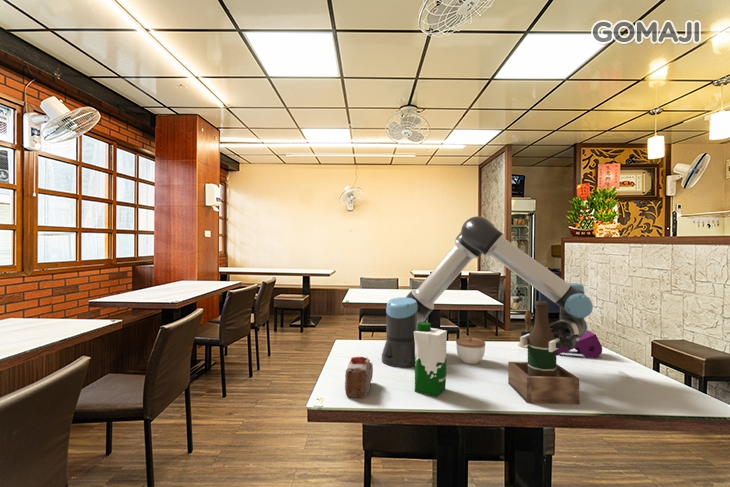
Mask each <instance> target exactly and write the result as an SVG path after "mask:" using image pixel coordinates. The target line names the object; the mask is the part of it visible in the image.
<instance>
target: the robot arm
mask: <svg viewBox="0 0 730 487" xmlns="http://www.w3.org/2000/svg"><path fill="white" fill-rule="evenodd" d="M482 255H484V256H485V257H492V258H493V259H494V260H496V261H498V263H500V264H501V265H503V266H504V267H505V268H507V269H508V270H509V271H510V272H512V273H514V274H515V275H517V276H518V277H519V278H520V279H522V280H523V281H525V282H526V283H527V284H529V285H530V286H532V287H533V288H534V289H535V290H537V291H538V292H540V293H541V294H542V295H544V296H545V297H546V298H547V299H549V300H550V301H552V302H553V303H555V305H557V306H558V307H559V320H557V321H555V322H552V323H550V324H549V327H550V330H551V331H552V333H553V334H554V337H555V339H554V340H552V341H550V342H549V352H553V351H555V350H557V349H559V348H565V347H568V349H572V348H573V347H574V346H575V345H576V344H578V343H579V338H580V337H582V336H583V335H584V334H585V333H586V331H587V330H588V324H587V322H586V319H585V318H587V317H589V316H590V315H591V314H592V313H593V309H594V306H593V303H592V300H591V298H590V297H588V296H587V295H586V294H585V287H584V285H583V283H573V282H567V281H566V280H564V279H562V278H561V277H560V276H558V275H557V274H555V272H553V271H551V270H550V269H548V268H547V267H545V266H544V265H543V264H542V263H540V262H539V261H537V260H535V259H534V258H533V257H531V256H530V255H529V254H527V253H526V252H525V251H523V250H521V249H520V248H519V247H517V246H516V245H514V244H513V243H512V242H510V241H509V240H507V239H506V238H505V234H504V233H503V232H501V231H500V230H499V229H497V228H496V227H495V225H494V224H493V223H492V222H491V221H490V220H489V219H487V218H486V217H483V216H478V215H477V216H473V217H470V218H468V219H466V221H465V222H463V225H462V226H461V230H460V232H459V234H458V235H457V236H456V238H455V239H454V246H453V247H452V248H451V249H450V250H449V252H447V254H446V255H445V256H444V257H443V258H442V259H441V261H440V262H439V263H438V264H437V266H436V267H435V268H434V269H433V270H432V272H430V274H429V275H428V276H427V277H426V279H424V281H423V282H422V283H421V284H420V285H419V287H418V288H416V289H415V288H413V289H411V290H410V292H409V293H408V294H407V295H406V296H405V297H403V296H402V297H396V298H395V297H394V298H391V299H389V300H388V301H387V303H386V308H385V309H386V310H385V312H386V332H385V333H386V338H385V343H384V346H383V349H382V352H381V362H382V363H383V364H385V365H387V366H392V367H397V368H411V367H415V339H414V331H416V330H417V329H418V328H417V326H418V323H419V322H426V320H427V318H428V316H429V315H430V314H431V312H433V310H434V309H435V302H436V301H437V300H438V299H439V298H440V297H441V295H442V294H444V292H445V291H446V289H447V288H448V287H449V286H450V285H451V284H452V283H453V282H454V280H456V278H457V277H458V276H459V275H460V274H461V272H462V271H463V270H464V269H465V268H466V267H467V266H468V265H469V263H471V261H473V259H478V258H480V257H481V256H482ZM532 329H533V328H530V330H527V331H526V330H523V331H520V336H519V343H520V346H522V347H521V348H524V347H523V346H525V345H527V344H528V337H529V334H530V332H531V331H532ZM520 346H519V347H520ZM572 350H573V349H572Z"/></svg>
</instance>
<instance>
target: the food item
mask: <svg viewBox="0 0 730 487" xmlns="http://www.w3.org/2000/svg"><path fill="white" fill-rule="evenodd" d="M370 361H371V360H370V359H369V358H368V357H364V356H352V357H351V358H350V361H349V362H348V365H347V368H346V370H345V375H344V377H345V380H344V389H345V391H344V392H345V395H346V397H347V398H356V399H358V398H361V399H365V398H367V396H368V393H369V391H370V385H371V383H372V381H373V374H374V366H373V362H370Z"/></svg>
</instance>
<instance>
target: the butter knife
mask: <svg viewBox="0 0 730 487" xmlns="http://www.w3.org/2000/svg"><path fill="white" fill-rule="evenodd" d="M617 372H618V373H619V375H621V376H623V377H625V378H627V379H629V380H630V381H632V382H633V383H636V384H637V385H639V386H644V384H642V383H641V382H639V381H638V380H636V379H635V378H633V376H630V375H629V374H627V373H626V372H624V371H620V370H617Z"/></svg>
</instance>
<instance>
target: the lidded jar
mask: <svg viewBox="0 0 730 487" xmlns="http://www.w3.org/2000/svg"><path fill="white" fill-rule="evenodd" d="M455 343H456V345H455V347H456V353H457V355H458V357H459V358H460V359H461V361H462V362H463V363H464V364H470V365H471V364H472V365H474V364H475V365H476V364H479V363H480V362H481V360H483V358H484V356H485V352H486V341H485V340H482V339H479V338H476V337H475V338H474V337H472V336H469V337H461V338H457V339H456V340H455Z"/></svg>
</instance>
